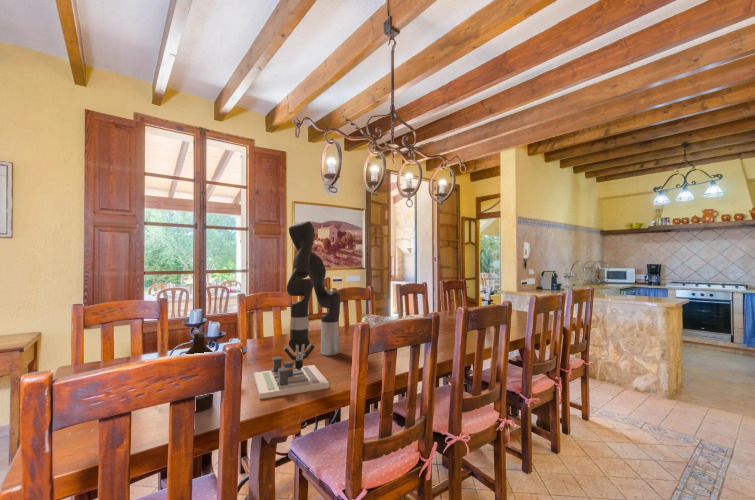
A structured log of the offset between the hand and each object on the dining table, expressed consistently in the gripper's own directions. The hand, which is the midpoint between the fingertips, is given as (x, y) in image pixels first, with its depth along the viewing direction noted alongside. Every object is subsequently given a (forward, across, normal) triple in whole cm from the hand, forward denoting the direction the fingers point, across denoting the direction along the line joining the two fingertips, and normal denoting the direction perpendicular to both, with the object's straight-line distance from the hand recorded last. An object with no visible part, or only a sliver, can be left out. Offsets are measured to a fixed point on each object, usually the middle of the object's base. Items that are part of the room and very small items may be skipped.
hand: (298, 369), depth 140 cm
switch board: (+5, +4, 0) cm, 6 cm away
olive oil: (+5, +37, +10) cm, 38 cm away
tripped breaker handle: (+3, +4, 0) cm, 5 cm away
